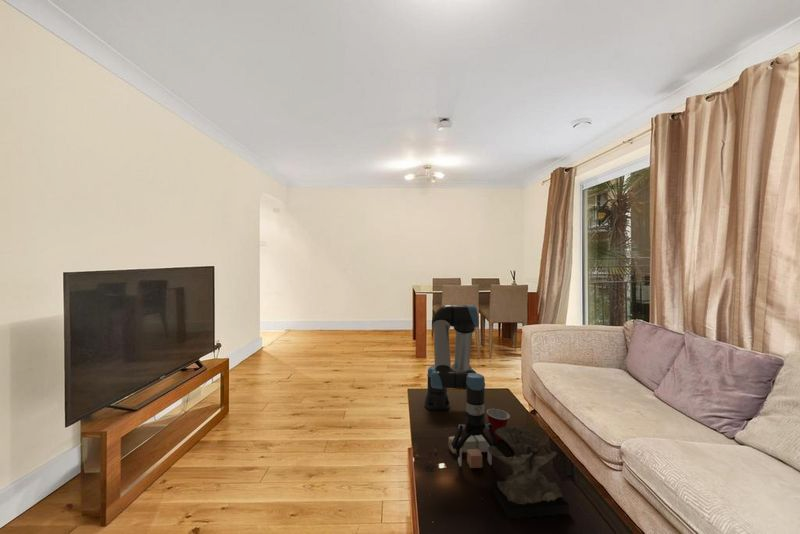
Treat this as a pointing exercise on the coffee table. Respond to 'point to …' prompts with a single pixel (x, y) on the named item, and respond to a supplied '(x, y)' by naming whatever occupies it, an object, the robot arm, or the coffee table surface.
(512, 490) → the coral
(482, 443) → the offwhite cube
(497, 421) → the plastic cup
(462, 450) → the maple cube
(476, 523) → the coffee table surface
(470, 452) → the terracotta cube
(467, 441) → the sage cube
